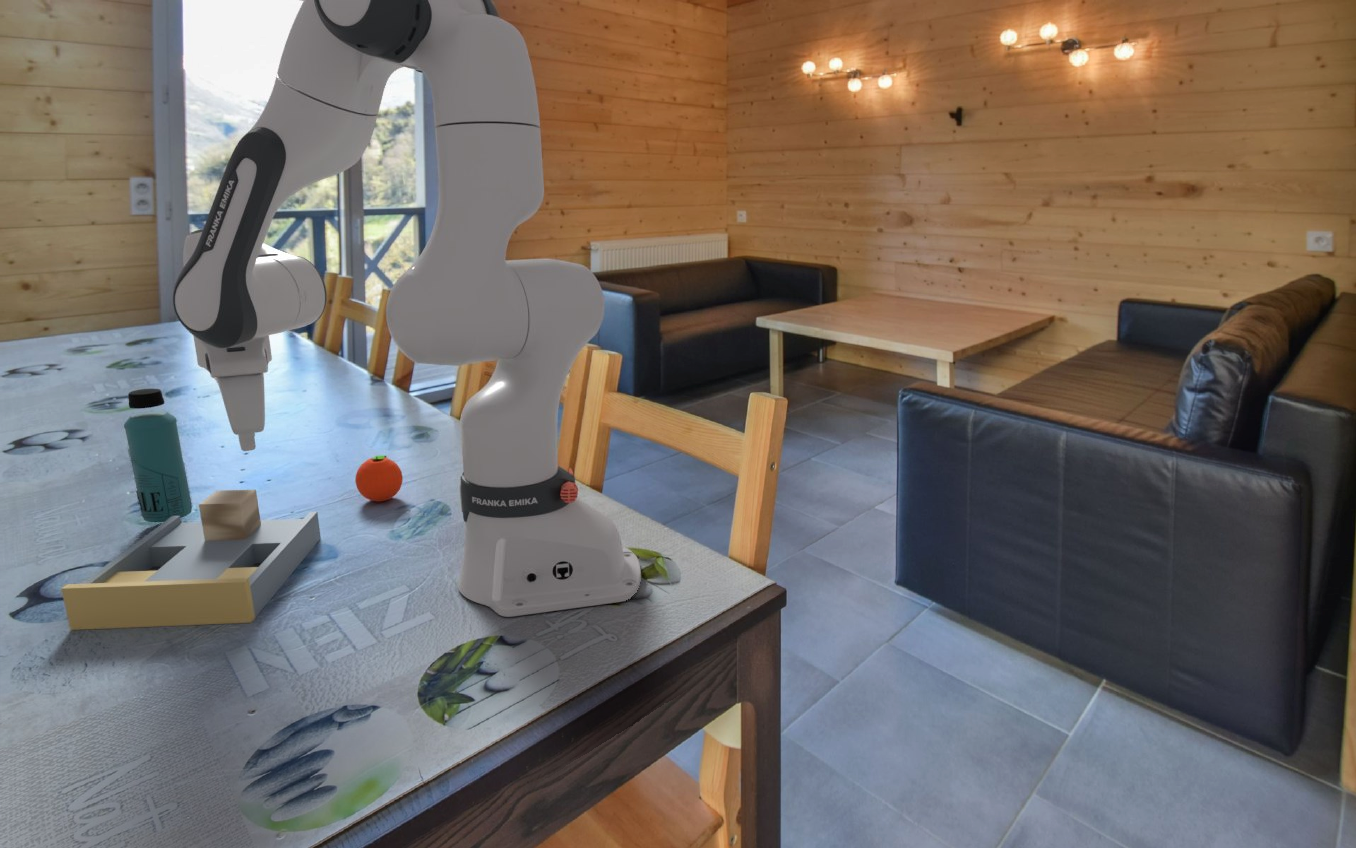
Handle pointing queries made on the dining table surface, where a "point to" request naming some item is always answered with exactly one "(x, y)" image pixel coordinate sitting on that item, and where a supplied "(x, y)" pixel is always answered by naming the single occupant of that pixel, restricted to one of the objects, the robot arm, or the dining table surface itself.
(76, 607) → the tray
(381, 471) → the clementine
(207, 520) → the cube
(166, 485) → the beverage bottle
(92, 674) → the dining table surface
